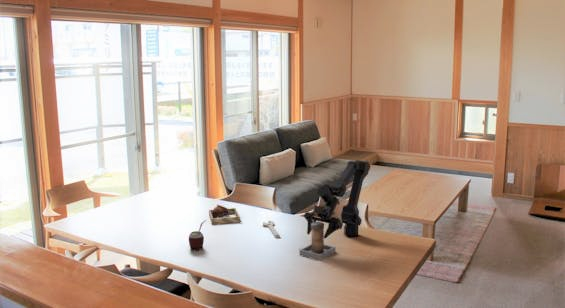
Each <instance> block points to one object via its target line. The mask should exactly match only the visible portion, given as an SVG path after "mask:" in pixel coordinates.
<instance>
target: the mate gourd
mask: <svg viewBox="0 0 565 308" xmlns="http://www.w3.org/2000/svg"><path fill="white" fill-rule="evenodd" d="M206 221H207V219H205V220H204V221H202V222H201V223H200V226H199V230H198V231H197V230H196V231H191V232H190V233H189V235H188V243H189V247H190V248H189V249H190V251H194V250H196V251H197V252H199V251H200V250H201V249H204V247H203V246H204V241H205V240H204V237H205V236H204V234H203V232H201V229H202V227H203V224H204V223H205V222H206Z"/></svg>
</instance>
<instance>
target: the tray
mask: <svg viewBox="0 0 565 308" xmlns="http://www.w3.org/2000/svg"><path fill="white" fill-rule="evenodd" d="M334 253H336V246H334V245H328V244H324V252H323V253H321V254H317V253H313V252H312V243H311V244H309V245H307V246H305V247H303V248H301V249H299V256H302V255H303V257H306V256H308V257H307V258H310V257H311V258H310V259H314V258H315V259H314V260H317V259H318V261H322V260H324V259H326V258H328V257H330V256H331V255H333V254H334Z"/></svg>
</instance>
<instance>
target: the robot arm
mask: <svg viewBox="0 0 565 308" xmlns="http://www.w3.org/2000/svg"><path fill="white" fill-rule="evenodd" d="M370 169H371V164H370V162H369V161H366V160H359V159H357V160H349V161H348V162H347V164H346V167H345V168H344V170H343V171H342V172H341V173H340V176H339V177H338V178H337V179H335V180H333V181H332V182H331V184H327V183H324V185H323V186H320V187H319V188H318V189H317V195H318V196H319V198H320V199H321V201H323V204H322V205H320V206H319V205H314V207H313V210H312V211H313V212H310V211H306V212H304V214H303V217H304V218H305V220H306V221H307V229H306V230H307V231H306V234H307V235H310V233H312V229H311V223H313V222H322V223H324V224H325V223H326V224H328V225H327V229H326V231H325V233H324V239H326V238H329V236H330V235H331V234H333V233H335V232H336V231H338V230H342V228H343V235H345V236H346V237H347V238H356V237H357V238H358V237H360V234H359V226H361V224H362V222H363V221H362V218H361V216H360V211H359V207H358V204H359V200H360V196H361V192H362V187H363V183H364V179H365V178H366V177H367V176H368V174H369V172H370ZM352 177H353V180H352V185H351V189H350V193H349V197H348V200H347V203H346V205H343V206H342V210H341V213H340V218H338V217H334V216H335V210H336V207H337V206H338V205H340V200H339V198H343V197H344V195H345V194H346V192H347V185H348V183H349V182H350V180H351V179H352ZM315 213H316V214H315ZM343 225H344V226H343Z"/></svg>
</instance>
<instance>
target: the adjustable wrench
mask: <svg viewBox="0 0 565 308" xmlns="http://www.w3.org/2000/svg"><path fill="white" fill-rule="evenodd" d="M274 226H275V222H274V221H273V220H268V222H265V221H263V222H262V227H263V228H264V227H265V228H268V229H269V231H270V233H271V234H272V235H273V237H274V238H275V239H280V238H281V235H280V234H279V232H278V231H277V230H276V229H275V227H274Z"/></svg>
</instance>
